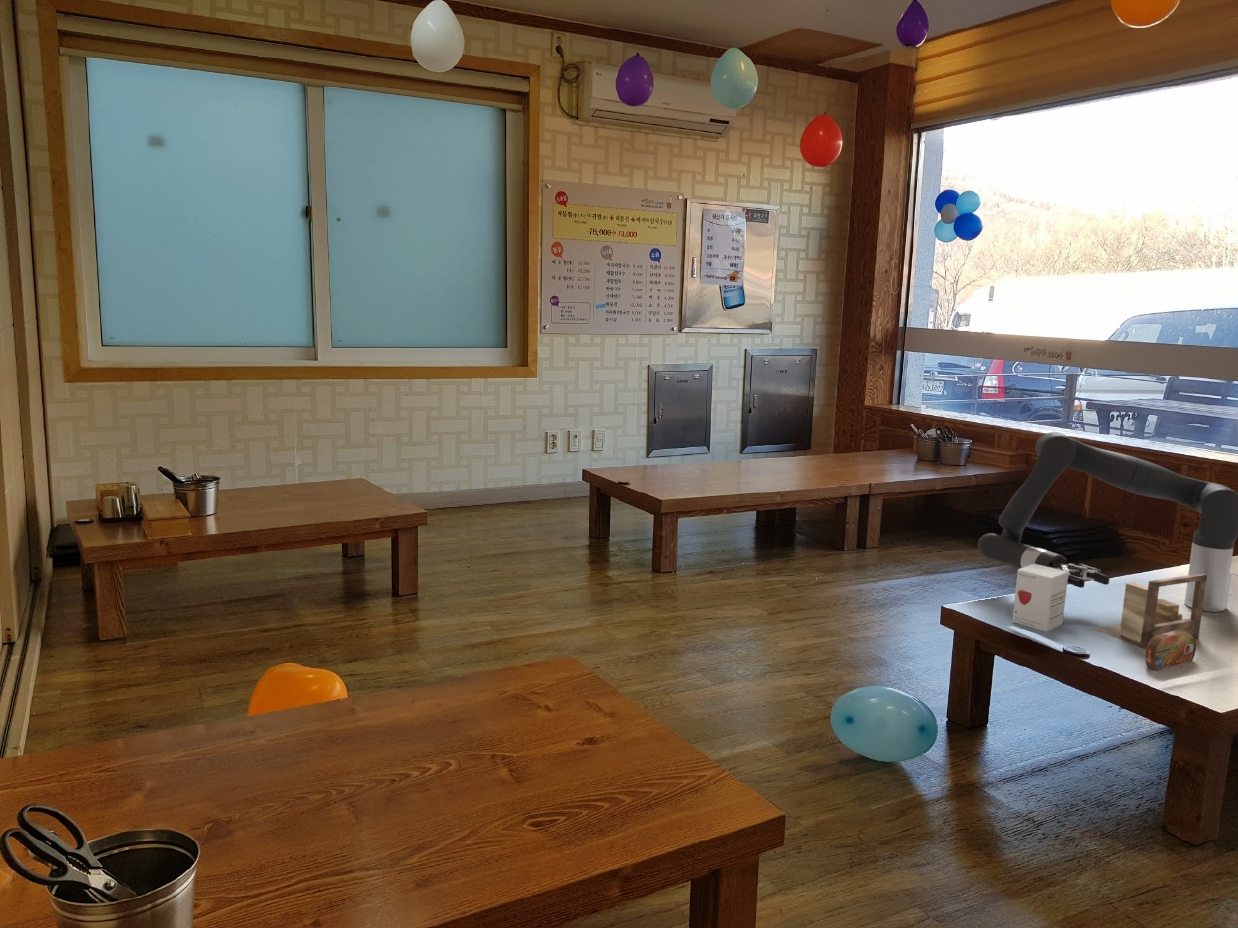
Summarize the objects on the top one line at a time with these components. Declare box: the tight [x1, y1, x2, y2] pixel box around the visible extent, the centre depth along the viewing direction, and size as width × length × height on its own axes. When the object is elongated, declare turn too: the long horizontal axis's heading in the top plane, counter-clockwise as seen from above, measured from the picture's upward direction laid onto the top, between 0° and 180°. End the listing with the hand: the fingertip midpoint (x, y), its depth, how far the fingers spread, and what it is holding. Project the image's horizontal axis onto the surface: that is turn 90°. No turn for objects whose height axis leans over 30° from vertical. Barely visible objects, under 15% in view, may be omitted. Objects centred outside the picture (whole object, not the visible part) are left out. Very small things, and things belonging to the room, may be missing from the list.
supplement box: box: [1011, 564, 1069, 633], centre depth 225 cm, size 9×9×15 cm
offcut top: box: [1156, 598, 1180, 616], centre depth 220 cm, size 4×5×2 cm
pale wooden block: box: [1120, 581, 1148, 643], centre depth 215 cm, size 3×6×13 cm, turn 22°
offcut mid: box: [1155, 612, 1183, 623], centre depth 221 cm, size 4×6×2 cm
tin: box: [1145, 630, 1197, 672], centre depth 201 cm, size 15×3×8 cm, turn 117°
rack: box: [1093, 573, 1207, 650], centre depth 218 cm, size 18×14×17 cm
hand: (1096, 582), depth 225 cm, fingers open, 8 cm apart
